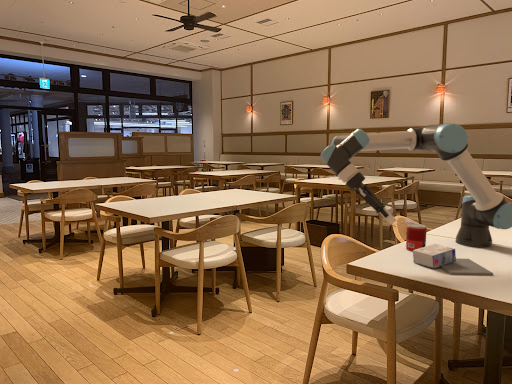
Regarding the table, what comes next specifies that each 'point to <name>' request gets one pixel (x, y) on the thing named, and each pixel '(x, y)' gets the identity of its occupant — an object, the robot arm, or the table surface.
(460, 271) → the rubber mat
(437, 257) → the ink cartridge box
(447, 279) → the table surface
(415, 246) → the canned food
